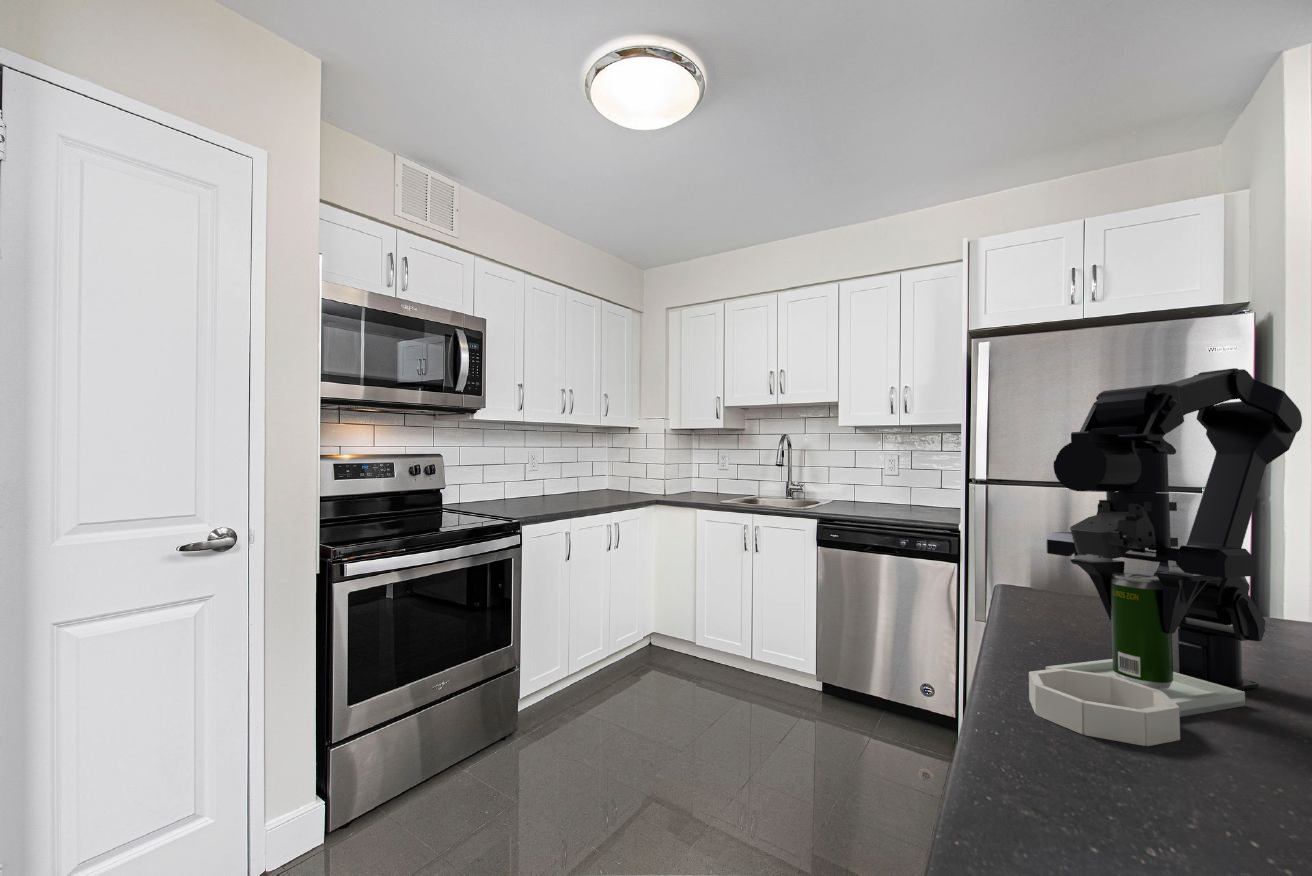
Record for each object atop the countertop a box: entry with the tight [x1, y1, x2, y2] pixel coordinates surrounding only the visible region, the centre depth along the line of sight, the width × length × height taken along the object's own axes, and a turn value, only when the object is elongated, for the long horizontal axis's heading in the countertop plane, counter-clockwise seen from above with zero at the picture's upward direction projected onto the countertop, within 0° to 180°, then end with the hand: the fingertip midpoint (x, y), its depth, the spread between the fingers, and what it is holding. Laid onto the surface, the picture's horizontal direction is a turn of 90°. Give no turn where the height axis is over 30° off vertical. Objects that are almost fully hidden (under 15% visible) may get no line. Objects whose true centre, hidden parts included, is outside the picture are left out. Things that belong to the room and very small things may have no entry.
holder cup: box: [1028, 668, 1181, 747], centre depth 60 cm, size 12×12×3 cm
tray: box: [1045, 658, 1246, 718], centre depth 68 cm, size 14×12×2 cm
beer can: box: [1110, 572, 1174, 689], centre depth 67 cm, size 5×5×12 cm
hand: (1140, 626), depth 67 cm, fingers closed on beer can, 5 cm apart
